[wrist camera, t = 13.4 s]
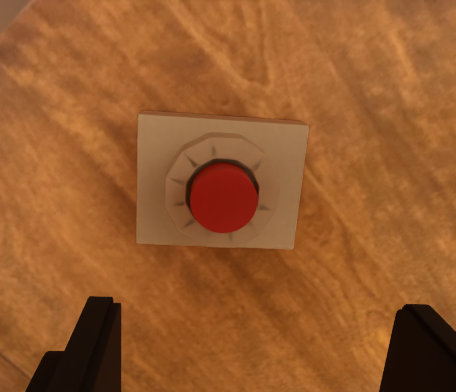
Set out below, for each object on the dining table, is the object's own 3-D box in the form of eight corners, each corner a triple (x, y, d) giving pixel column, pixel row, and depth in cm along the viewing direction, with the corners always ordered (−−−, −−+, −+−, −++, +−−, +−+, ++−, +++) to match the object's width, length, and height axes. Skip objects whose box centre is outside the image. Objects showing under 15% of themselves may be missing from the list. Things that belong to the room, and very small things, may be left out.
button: (189, 220, 25) (188, 232, 23) (192, 160, 24) (192, 167, 22) (250, 223, 25) (254, 234, 23) (256, 163, 24) (260, 171, 22)
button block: (140, 231, 28) (131, 256, 24) (141, 110, 26) (133, 117, 22) (286, 236, 29) (300, 262, 25) (300, 120, 27) (318, 129, 23)
